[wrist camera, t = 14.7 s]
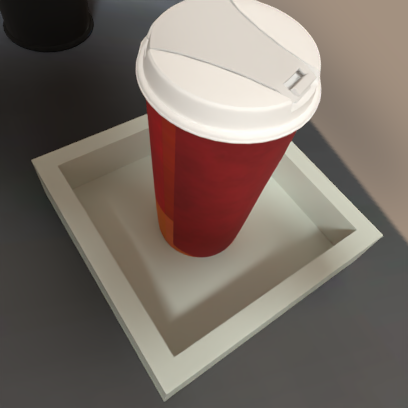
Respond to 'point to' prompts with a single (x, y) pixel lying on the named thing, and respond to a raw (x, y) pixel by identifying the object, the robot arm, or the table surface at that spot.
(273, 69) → the paper cup
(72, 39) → the aerosol can
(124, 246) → the tray
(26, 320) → the table surface
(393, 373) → the table surface
